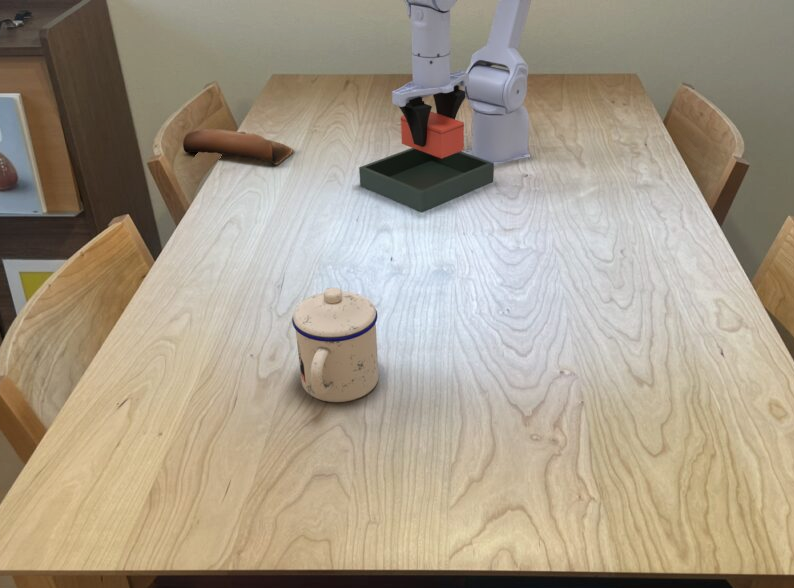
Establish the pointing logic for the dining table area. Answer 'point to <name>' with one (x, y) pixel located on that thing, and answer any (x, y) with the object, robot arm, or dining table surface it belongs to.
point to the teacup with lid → (337, 345)
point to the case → (437, 135)
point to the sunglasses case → (236, 145)
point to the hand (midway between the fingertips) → (432, 140)
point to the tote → (425, 177)
